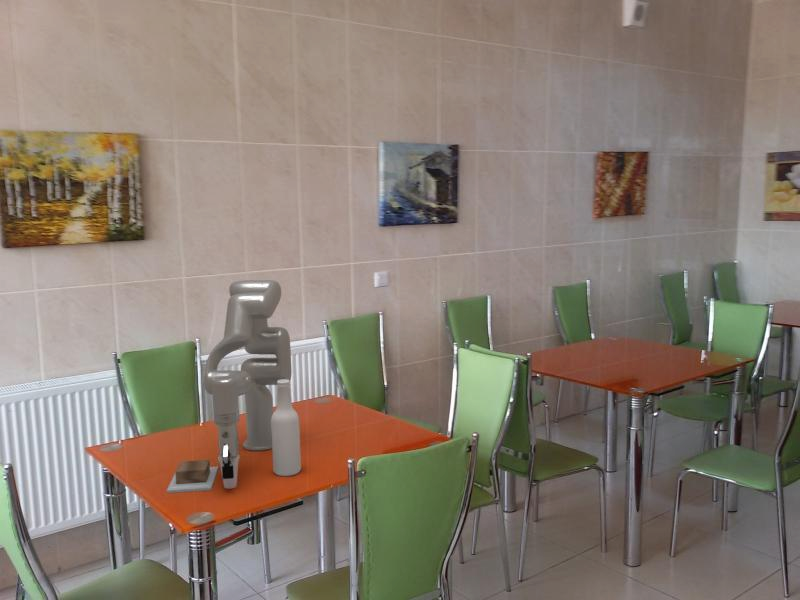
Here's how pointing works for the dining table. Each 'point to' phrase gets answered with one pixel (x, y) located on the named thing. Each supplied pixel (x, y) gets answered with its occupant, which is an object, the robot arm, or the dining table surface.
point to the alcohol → (285, 433)
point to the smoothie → (233, 482)
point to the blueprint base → (209, 482)
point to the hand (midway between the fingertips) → (229, 473)
